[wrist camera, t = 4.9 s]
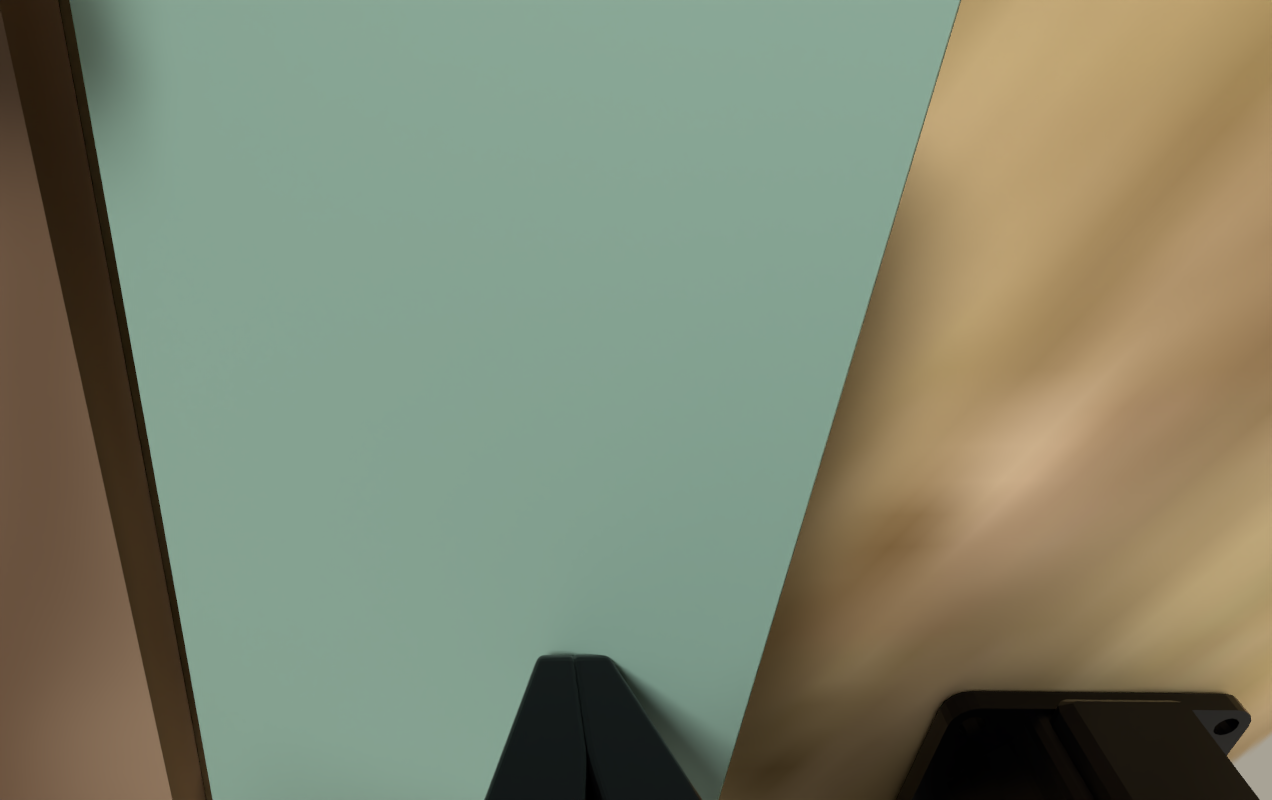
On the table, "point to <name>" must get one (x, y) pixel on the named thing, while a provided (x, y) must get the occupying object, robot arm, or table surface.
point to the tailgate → (489, 348)
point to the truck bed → (72, 474)
